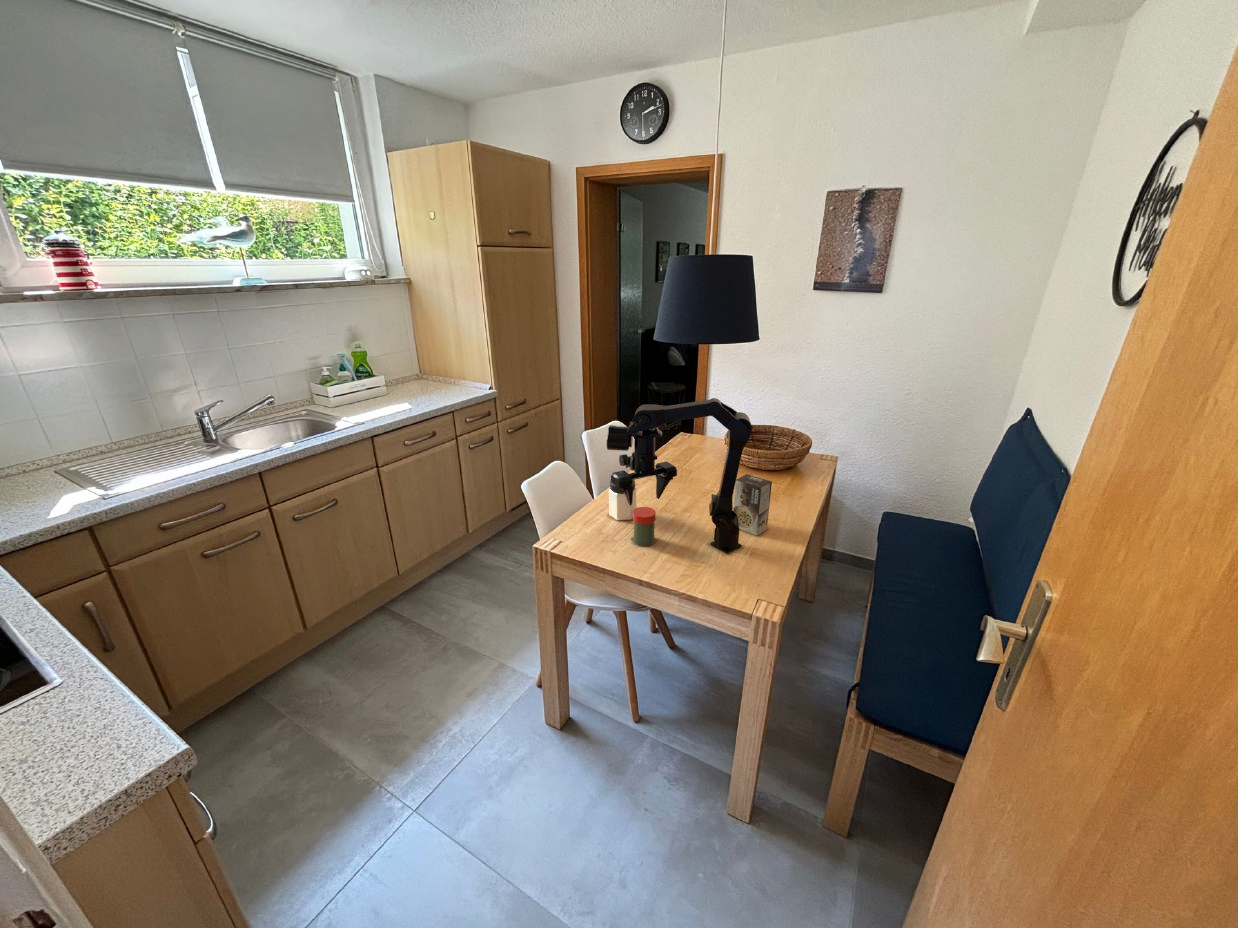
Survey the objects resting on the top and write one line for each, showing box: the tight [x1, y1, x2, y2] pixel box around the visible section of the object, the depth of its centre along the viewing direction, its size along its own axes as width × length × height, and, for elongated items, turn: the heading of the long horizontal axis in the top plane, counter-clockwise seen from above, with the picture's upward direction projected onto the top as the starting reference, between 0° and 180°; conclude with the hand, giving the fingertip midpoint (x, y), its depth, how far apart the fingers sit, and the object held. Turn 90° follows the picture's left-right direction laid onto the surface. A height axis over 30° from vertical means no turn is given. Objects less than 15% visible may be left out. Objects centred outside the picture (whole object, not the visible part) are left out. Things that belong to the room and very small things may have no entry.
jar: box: [608, 479, 637, 521], centre depth 162 cm, size 9×8×12 cm
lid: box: [632, 506, 657, 525], centre depth 145 cm, size 7×7×2 cm
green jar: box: [633, 521, 656, 547], centre depth 147 cm, size 6×6×9 cm
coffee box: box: [733, 473, 773, 536], centre depth 152 cm, size 9×6×16 cm
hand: (644, 501), depth 144 cm, fingers open, 9 cm apart
